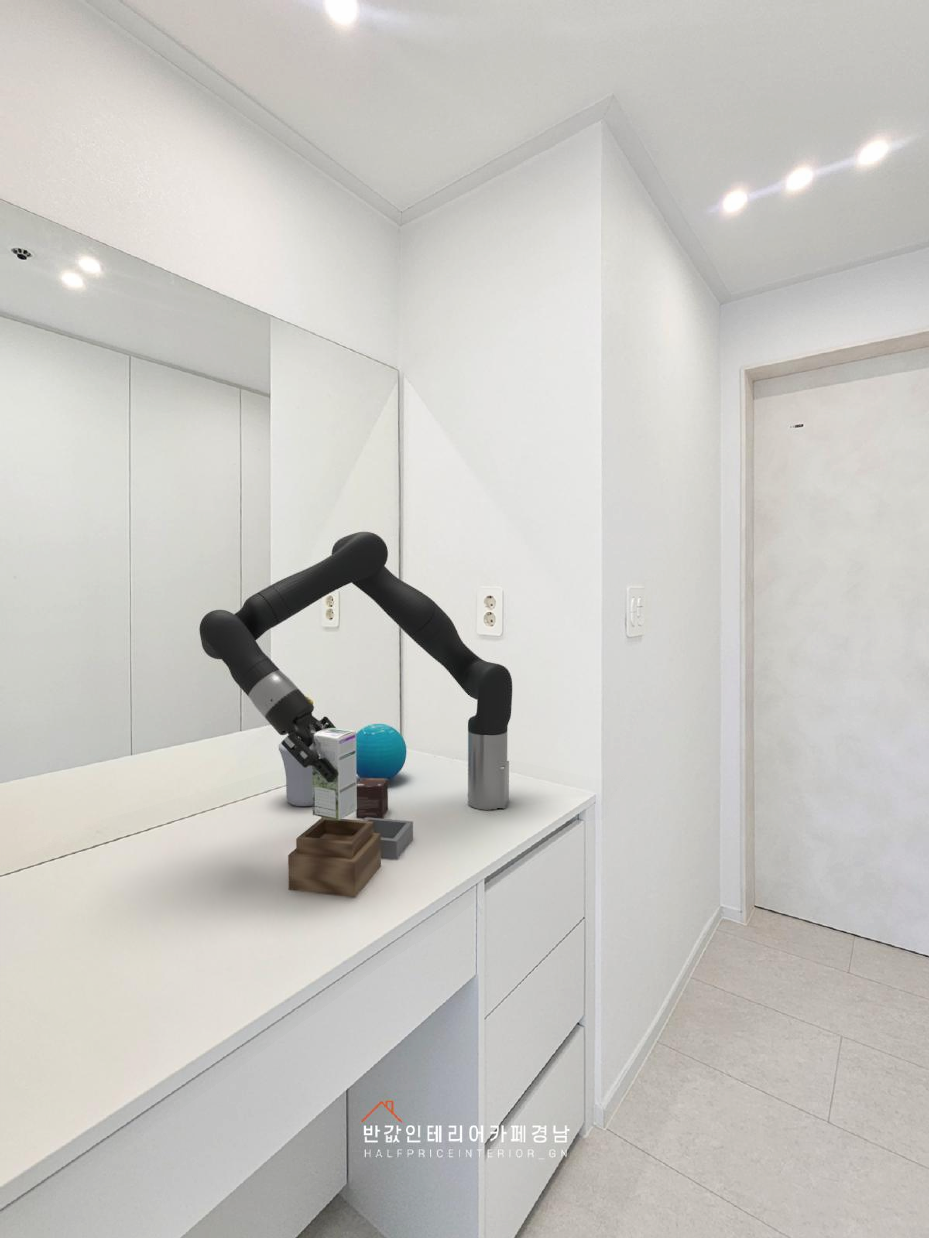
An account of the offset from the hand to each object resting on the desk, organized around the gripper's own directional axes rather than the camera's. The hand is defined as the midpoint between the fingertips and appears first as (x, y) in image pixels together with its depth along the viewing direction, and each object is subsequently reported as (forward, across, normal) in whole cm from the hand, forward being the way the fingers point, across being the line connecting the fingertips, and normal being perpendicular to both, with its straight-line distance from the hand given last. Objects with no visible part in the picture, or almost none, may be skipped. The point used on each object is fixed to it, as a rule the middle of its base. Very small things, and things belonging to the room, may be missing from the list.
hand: (343, 772), depth 109 cm
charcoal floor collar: (+15, +14, +12) cm, 24 cm away
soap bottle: (-4, +34, +31) cm, 46 cm away
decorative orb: (+4, +52, +23) cm, 57 cm away
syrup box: (+4, 0, +6) cm, 8 cm away
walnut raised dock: (+12, 0, +14) cm, 19 cm away
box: (+9, +30, +18) cm, 36 cm away
